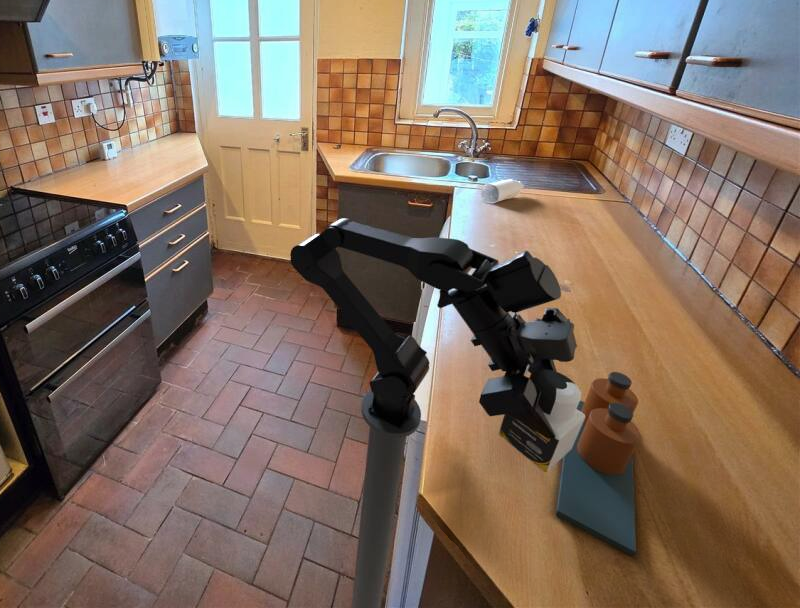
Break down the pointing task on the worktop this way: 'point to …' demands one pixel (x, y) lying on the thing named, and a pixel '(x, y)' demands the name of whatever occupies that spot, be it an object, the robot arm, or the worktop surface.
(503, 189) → the white bottle
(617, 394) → the amber bottle far
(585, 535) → the worktop surface
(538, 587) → the worktop surface
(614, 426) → the amber bottle near
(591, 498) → the tray
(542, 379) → the medicine bottle
